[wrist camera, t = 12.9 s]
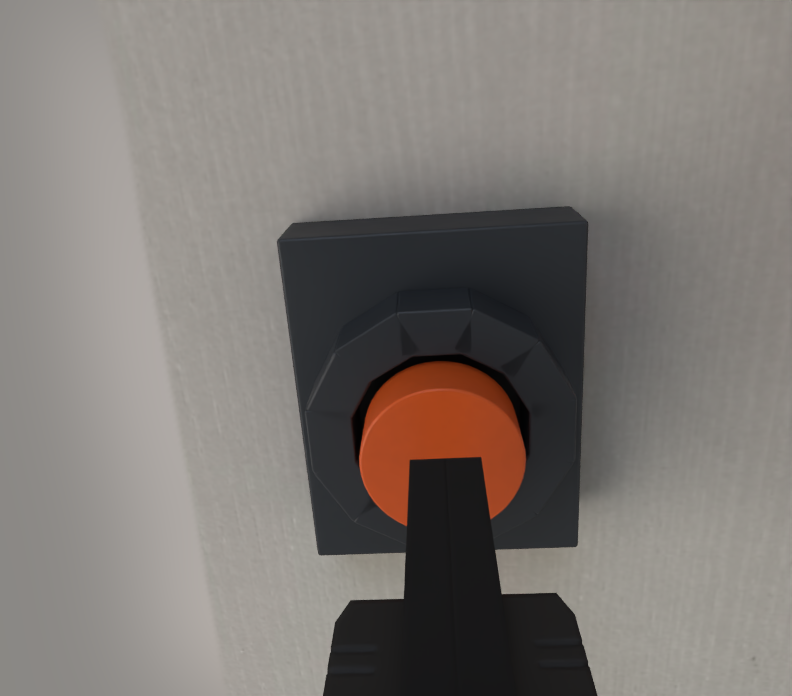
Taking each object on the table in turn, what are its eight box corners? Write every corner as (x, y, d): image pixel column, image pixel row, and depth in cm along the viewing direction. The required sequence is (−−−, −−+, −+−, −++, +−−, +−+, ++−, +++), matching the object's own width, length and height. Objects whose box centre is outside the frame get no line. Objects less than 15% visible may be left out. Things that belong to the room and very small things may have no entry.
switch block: (291, 222, 20) (260, 256, 16) (571, 205, 20) (606, 236, 16) (326, 514, 24) (309, 597, 20) (564, 506, 23) (591, 588, 19)
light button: (358, 363, 18) (351, 393, 16) (516, 355, 17) (526, 384, 16) (370, 497, 19) (365, 536, 17) (517, 491, 19) (526, 531, 17)
